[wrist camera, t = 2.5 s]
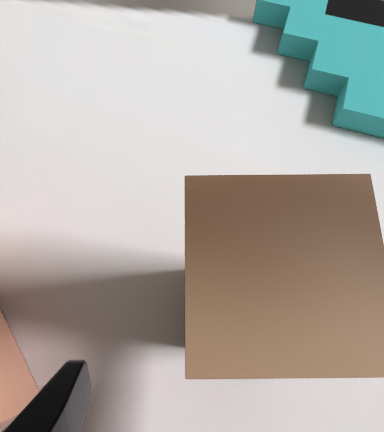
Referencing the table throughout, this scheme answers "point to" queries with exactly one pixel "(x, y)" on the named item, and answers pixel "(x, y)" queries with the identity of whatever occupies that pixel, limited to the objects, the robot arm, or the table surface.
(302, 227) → the walnut stick
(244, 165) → the table surface
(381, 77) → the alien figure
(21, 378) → the box
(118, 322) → the table surface
